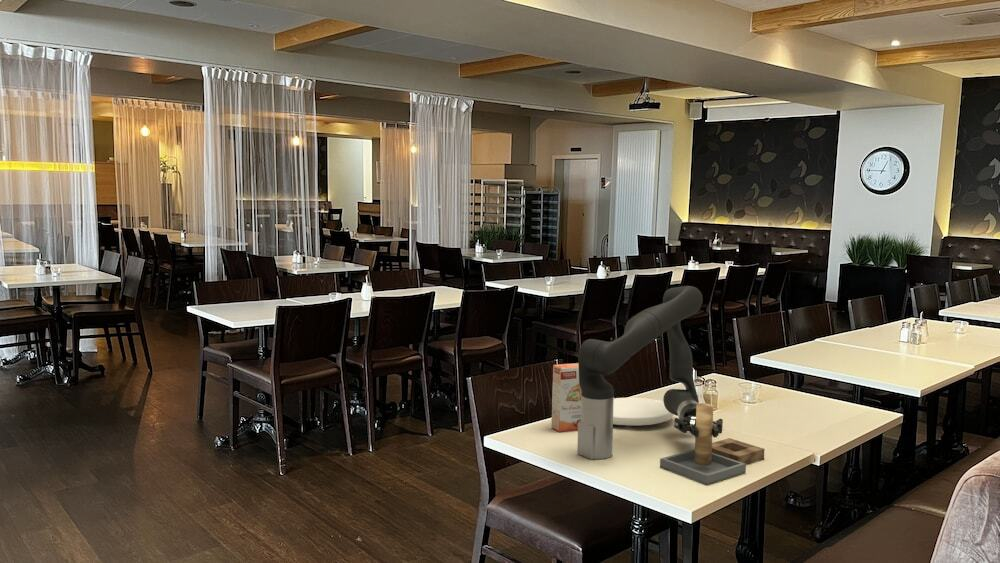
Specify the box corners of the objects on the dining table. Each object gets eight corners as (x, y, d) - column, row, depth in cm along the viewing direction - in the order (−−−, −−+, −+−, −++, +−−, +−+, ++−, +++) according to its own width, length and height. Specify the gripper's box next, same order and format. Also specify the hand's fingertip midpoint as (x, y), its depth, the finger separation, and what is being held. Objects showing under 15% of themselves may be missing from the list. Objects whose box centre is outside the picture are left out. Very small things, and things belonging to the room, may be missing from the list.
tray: (707, 485, 191) (707, 475, 191) (659, 467, 204) (660, 458, 204) (745, 472, 200) (745, 463, 200) (698, 456, 213) (698, 448, 213)
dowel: (704, 466, 199) (706, 408, 198) (691, 462, 203) (693, 404, 201) (714, 463, 202) (716, 406, 200) (701, 459, 205) (703, 402, 204)
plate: (590, 415, 239) (588, 395, 265) (592, 434, 239) (590, 412, 266) (678, 409, 236) (668, 389, 262) (680, 429, 236) (669, 407, 263)
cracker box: (559, 433, 235) (560, 367, 233) (550, 427, 240) (551, 364, 238) (598, 428, 240) (599, 364, 238) (588, 423, 246) (589, 361, 244)
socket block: (737, 467, 205) (738, 456, 205) (702, 455, 215) (703, 445, 214) (764, 459, 212) (764, 448, 212) (728, 447, 222) (729, 438, 221)
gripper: (668, 402, 215) (680, 419, 198) (717, 403, 215) (734, 420, 198) (667, 427, 216) (679, 446, 199) (716, 428, 216) (733, 447, 199)
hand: (706, 433), depth 199 cm, fingers closed on dowel, 4 cm apart
